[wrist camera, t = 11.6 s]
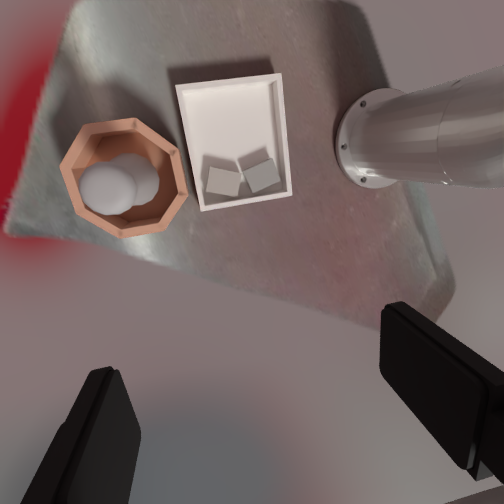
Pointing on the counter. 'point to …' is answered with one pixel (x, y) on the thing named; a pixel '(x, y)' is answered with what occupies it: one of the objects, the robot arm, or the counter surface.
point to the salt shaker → (118, 184)
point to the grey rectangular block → (261, 175)
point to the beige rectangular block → (223, 181)
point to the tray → (235, 134)
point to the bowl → (111, 145)
